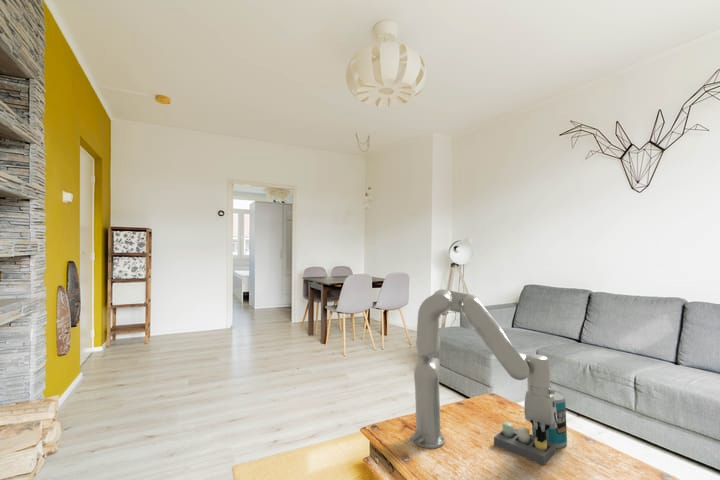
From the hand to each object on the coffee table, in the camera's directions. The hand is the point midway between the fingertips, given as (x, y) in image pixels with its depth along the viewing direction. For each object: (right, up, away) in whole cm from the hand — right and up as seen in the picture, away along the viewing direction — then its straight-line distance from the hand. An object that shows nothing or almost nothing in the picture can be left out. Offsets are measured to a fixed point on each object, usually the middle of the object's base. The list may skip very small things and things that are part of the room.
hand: (541, 440), depth 126 cm
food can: (+8, -6, +9) cm, 14 cm away
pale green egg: (-8, -3, +9) cm, 12 cm away
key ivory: (-4, -3, +4) cm, 7 cm away
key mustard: (0, -4, 0) cm, 4 cm away
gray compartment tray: (-4, -5, +4) cm, 8 cm away
